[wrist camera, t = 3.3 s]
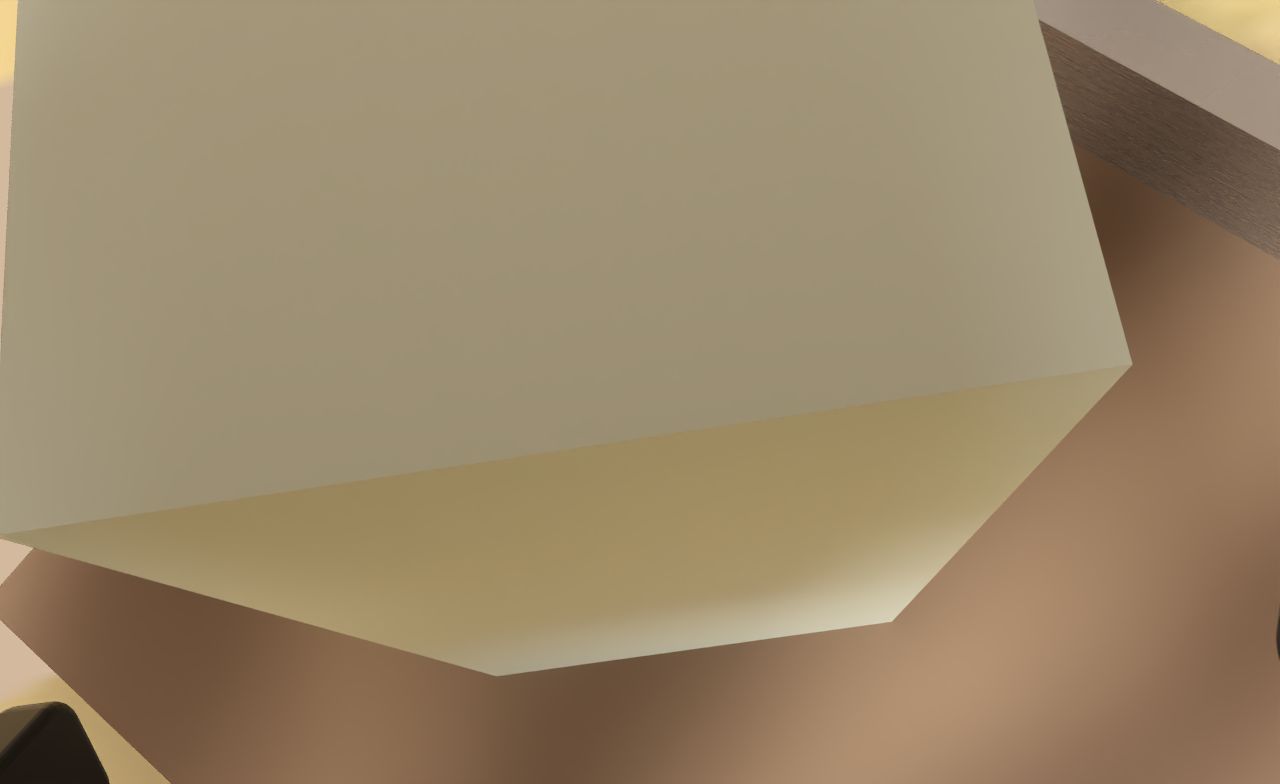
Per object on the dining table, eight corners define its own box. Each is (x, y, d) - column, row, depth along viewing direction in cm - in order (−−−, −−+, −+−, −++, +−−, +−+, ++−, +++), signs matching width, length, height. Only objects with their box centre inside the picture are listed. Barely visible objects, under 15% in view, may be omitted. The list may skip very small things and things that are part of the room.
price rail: (1727, 407, 17) (1876, 352, 15) (1680, 488, 17) (1825, 447, 14) (687, -160, 22) (677, -268, 20) (638, -105, 22) (623, -207, 19)
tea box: (891, 622, 17) (1132, 365, 6) (496, 676, 18) (-10, 534, 6) (836, 331, 19) (943, -333, 7) (472, 388, 19) (26, -159, 8)
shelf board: (1676, 467, 18) (1753, 443, 17) (1042, 1559, 15) (1071, 1645, 14) (663, -105, 23) (656, -161, 22) (39, 615, 20) (-16, 604, 19)
